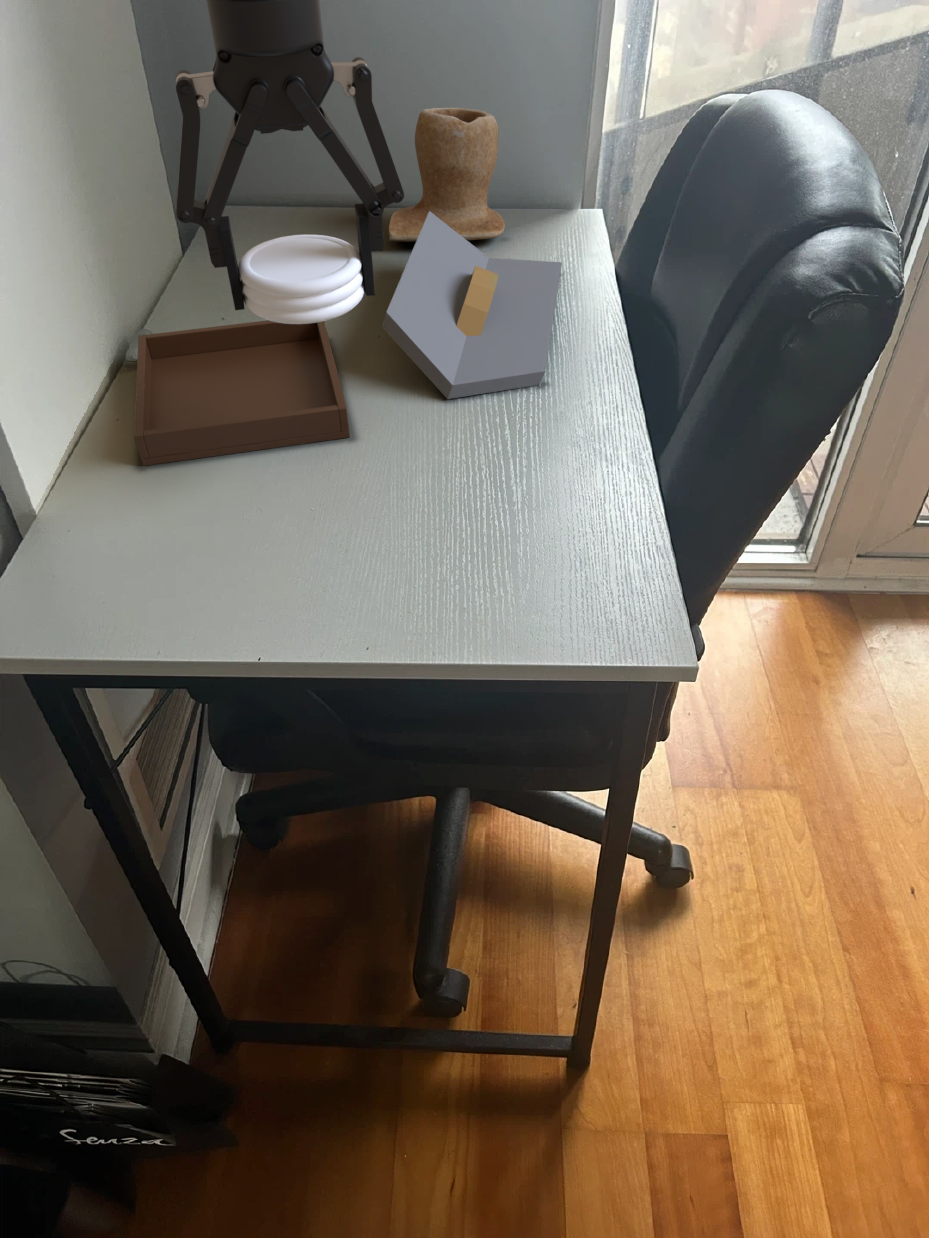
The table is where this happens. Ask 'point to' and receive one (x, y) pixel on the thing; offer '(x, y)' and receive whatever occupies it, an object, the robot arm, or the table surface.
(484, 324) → the shield
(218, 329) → the holder
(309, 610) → the table surface
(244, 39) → the robot arm
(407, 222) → the stone cup
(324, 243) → the coaster
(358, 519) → the table surface
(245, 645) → the table surface
